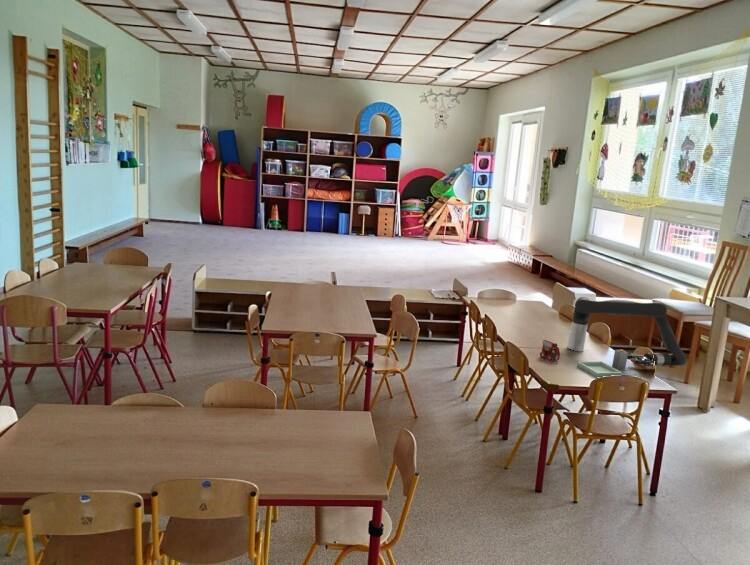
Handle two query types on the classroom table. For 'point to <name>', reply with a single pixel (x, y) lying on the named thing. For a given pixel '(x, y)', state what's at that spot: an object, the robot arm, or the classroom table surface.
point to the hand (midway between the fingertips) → (630, 359)
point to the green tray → (598, 369)
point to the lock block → (620, 360)
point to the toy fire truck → (550, 351)
